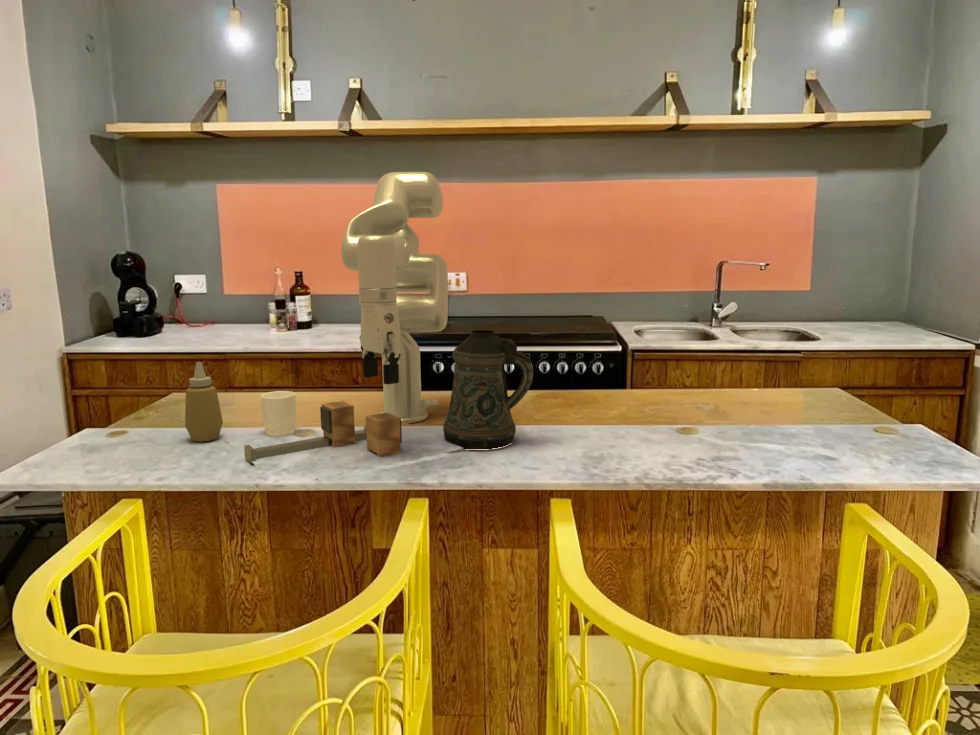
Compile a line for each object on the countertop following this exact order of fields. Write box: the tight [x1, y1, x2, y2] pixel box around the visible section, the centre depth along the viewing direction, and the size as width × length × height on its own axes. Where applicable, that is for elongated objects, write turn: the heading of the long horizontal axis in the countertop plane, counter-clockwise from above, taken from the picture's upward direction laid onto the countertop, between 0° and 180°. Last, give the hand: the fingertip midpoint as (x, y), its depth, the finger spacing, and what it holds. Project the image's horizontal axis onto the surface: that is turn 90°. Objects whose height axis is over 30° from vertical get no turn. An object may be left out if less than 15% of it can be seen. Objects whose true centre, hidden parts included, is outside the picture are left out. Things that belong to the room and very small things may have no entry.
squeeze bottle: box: [184, 361, 223, 443], centre depth 163 cm, size 8×8×18 cm
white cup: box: [259, 390, 297, 437], centre depth 166 cm, size 8×8×10 cm
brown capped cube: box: [365, 413, 403, 458], centre depth 151 cm, size 6×6×8 cm
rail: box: [243, 424, 367, 467], centre depth 155 cm, size 28×4×3 cm, turn 124°
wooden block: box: [319, 400, 356, 448], centre depth 157 cm, size 6×6×8 cm
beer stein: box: [442, 329, 534, 449], centre depth 160 cm, size 16×19×25 cm
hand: (380, 379), depth 148 cm, fingers open, 9 cm apart
